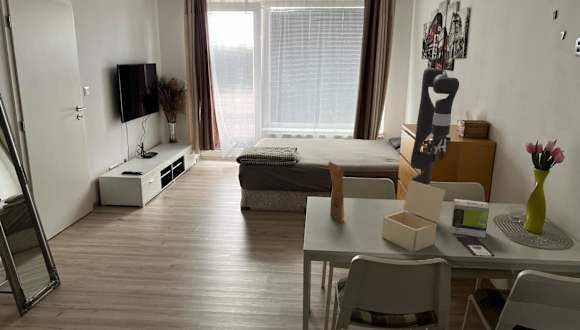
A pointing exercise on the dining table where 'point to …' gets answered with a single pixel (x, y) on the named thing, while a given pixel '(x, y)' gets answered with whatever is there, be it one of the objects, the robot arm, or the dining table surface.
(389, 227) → the carton
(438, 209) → the carton flap
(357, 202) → the dining table surface
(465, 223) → the tea box
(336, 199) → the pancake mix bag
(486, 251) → the chocolate bar
